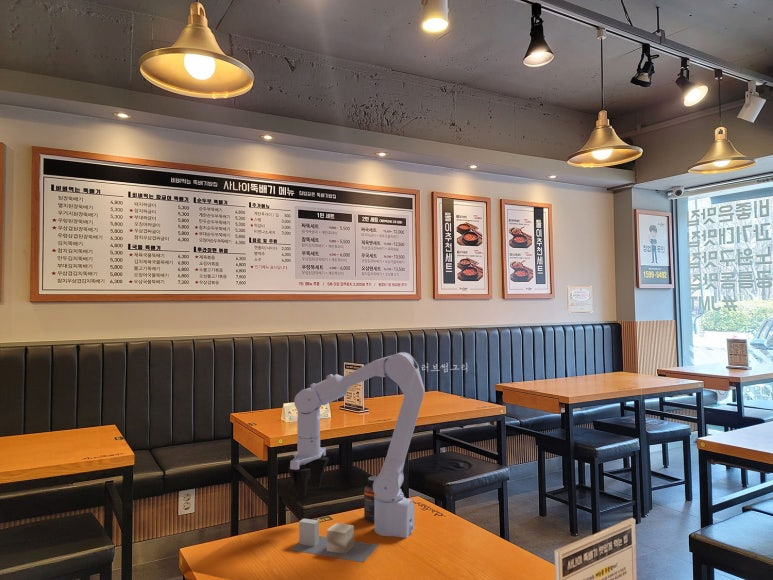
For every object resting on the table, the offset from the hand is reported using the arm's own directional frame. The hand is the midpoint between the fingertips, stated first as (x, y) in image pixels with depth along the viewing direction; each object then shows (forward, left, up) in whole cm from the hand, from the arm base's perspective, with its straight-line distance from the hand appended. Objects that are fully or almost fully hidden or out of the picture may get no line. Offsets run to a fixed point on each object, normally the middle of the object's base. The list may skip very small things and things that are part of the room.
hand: (308, 491), depth 132 cm
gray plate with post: (-12, +10, -9) cm, 18 cm away
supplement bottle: (-14, -10, -10) cm, 20 cm away
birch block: (-13, +10, -8) cm, 18 cm away
